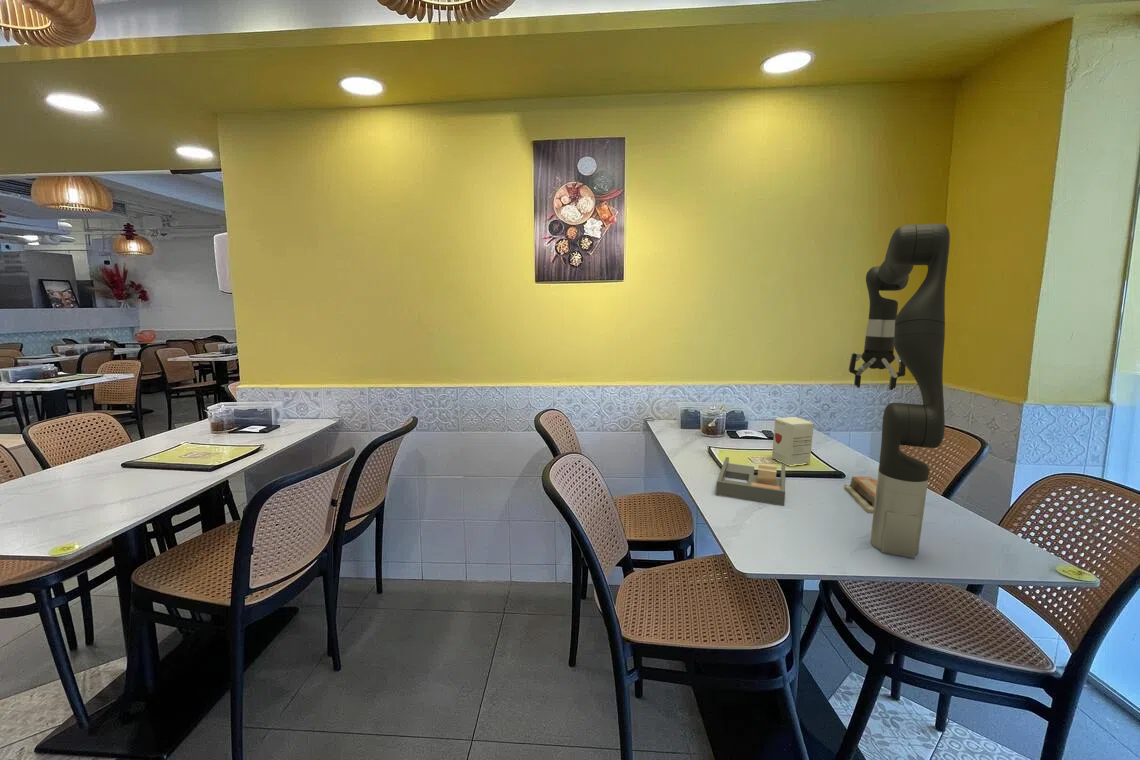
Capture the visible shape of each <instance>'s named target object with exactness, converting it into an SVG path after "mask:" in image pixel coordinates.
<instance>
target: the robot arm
mask: <svg viewBox="0 0 1140 760" xmlns="http://www.w3.org/2000/svg"><path fill="white" fill-rule="evenodd" d="M950 235H951V234H950V230H949V227H948V226H947V224H945V223H922V224H921V223H919V224H917V223H916V224H906V225H905V224H904V225H901V226H899V227H897V228H896V229H895V230H894V232H893V233H892V235H891V237H890V239H889V242H888V245H887V246H888V247H887V250H886V253H885V258H884V261H883V262H881V265H880V266H878V265H877V266H873V267H871V268H870V269H869V270H868V271H867V273H866V275H865V284H866V288H867V292H868V298H869V311H868V321H867V324H866V327H865V329H866V330H865V338H864V348H863V353H862V354H861V353H855V352H852V353H851V355H850V359H849V361H850V362H849V365H848V371H849V373H851V374H853V375H854V380H853V381H854V382H853V384H854V385H855V387H856V388H858V389H860V387H861V381H862V374H863V373H864V372H865V371H866V370H868V368H869V369H871V370H873V369H874V370H875V369H878V370H887V371H888V373H889V374H890V377H889V384H888V390H889V391H893V390H894V389H896V388H897V379H898V378H900V377H904V376H906V369H907V370H908V371H909V372H910V374H911V375H912V376H913V378H914V379H915V381H916V383H917V385H918V388H919V391H920V395H921V397H922V398H921V399H922V404H919V403H917V404H916V403H907V402H906V403H905V402H890V403H888V404H887V405H886V406H885V408H884V411H883V414H882V422H881V443H880V444H881V445H880V452H879V453H880V455H879V463H878V464H879V465H878V471H877V479H876V480H877V487H876V495H875V503H874V512H873V513H872V520H871V521H872V522H871V530H870V543H871V544H872V546H874V547H875V548H876V549H878V550H880V552H881V553H883V554H890V555H895V556H899V557H906V558H911V559H915V556H916V555H918V553H919V549H920V541H921V534H922V526H923V521H924V514H925V513H924V511H925V505H926V498H927V497H926V496H927V491H928V484H929V477H930V468H929V466H928V465H927V464H926V463H924V462H923V461H921V460H919V459H917V458H914V457H911V456H910V455H907V454H905V453H904V452H902V451H901V450H900V449H901V448H900V446H908V447H915V448H926V449H927V448H928V449H937V448H939V447H940V446H941V444H942V442H943V441H944V436H945V429H946V424H945V423H946V422H945V421H946V419H945V399H944V383H943V375H944V374H943V372H944V371H943V368H944V353H945V338H946V336H945V335H946V313H945V312H946V310H945V309H946V306H945V305H946V303H945V301H946V295H945V294H946V283H947V282H946V280H947V272H948V263H949V254H950V243H951V237H950ZM914 266H927V271H926V276H925V278H924V280H923V281H922V283H921V285H920V286H919V287H918V288H917V290H915V291H916V292H914V294H913V295H912V296H911V297H910V298H909V300H907V302H906V303H905V304H904V305H903V307H901V309H900V310H899V312H898V309H899V303H898V301H897V300H896V299H891V298H886V297H883V296H882V295H881V294H880V291H881V292H883V291H884V292H887V291H888V292H890V291H891V292H892V291H893V292H898V291H902V290H903V289H905V288H906V287H907V285H908V283H909V278H910V276H909V275H910V274H911V273H912V271H913V269H914ZM894 351H895V352H896V354H897V355H895V353H894ZM860 359H862V360H863V363H862V364H861V365H860V366H859V367H858V369H856V363H857V361H859V360H860ZM895 360H896V363H898V371H895V369H894V368H893V366H891V364H892V363H893V362H894V361H895Z"/></svg>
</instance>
